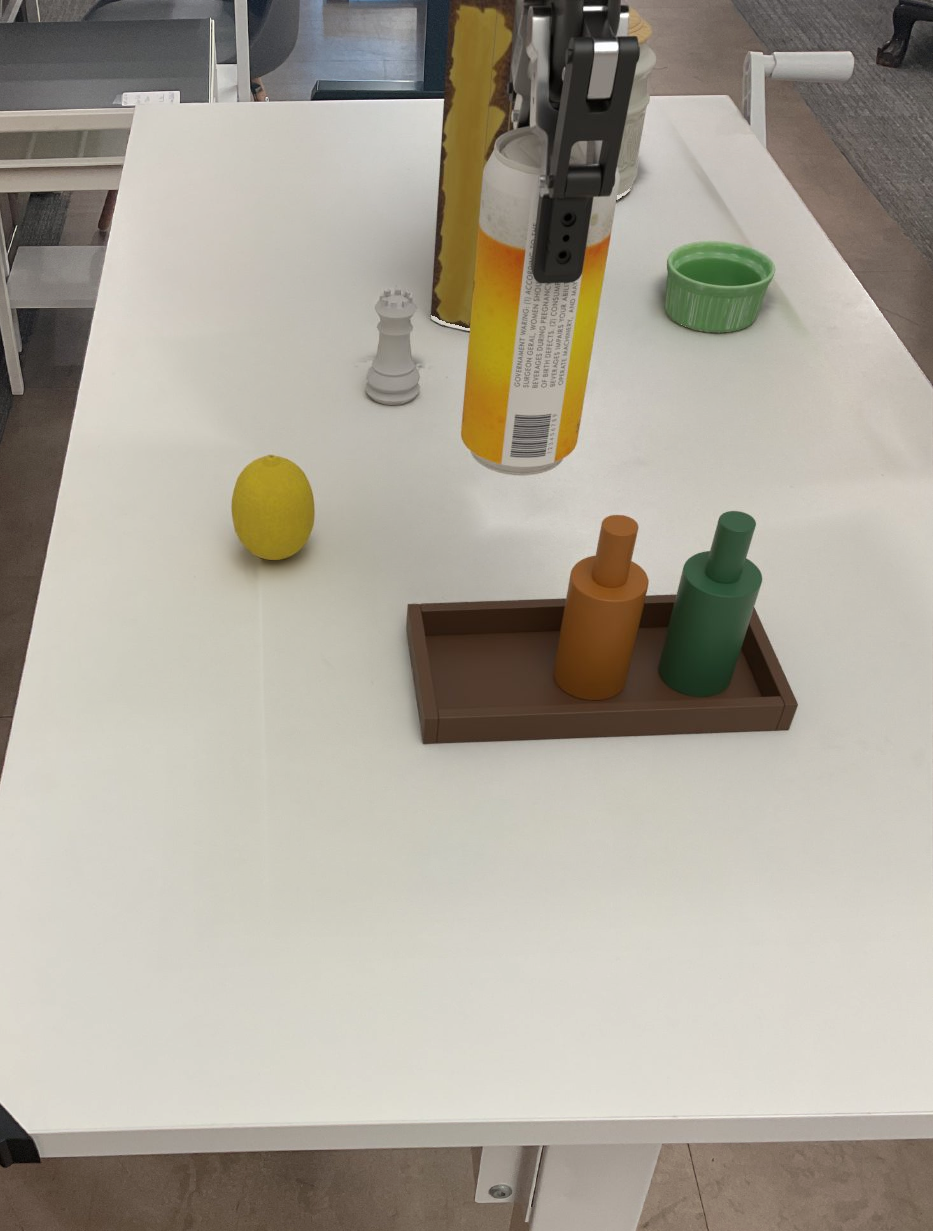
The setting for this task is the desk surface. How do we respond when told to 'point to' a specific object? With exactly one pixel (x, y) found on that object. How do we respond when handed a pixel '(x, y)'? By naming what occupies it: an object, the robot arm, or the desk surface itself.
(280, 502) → the lemon
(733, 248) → the ramekin
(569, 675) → the amber bottle
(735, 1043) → the desk surface
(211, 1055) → the desk surface
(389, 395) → the rook chess piece
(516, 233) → the beer can
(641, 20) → the jar
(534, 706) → the tray
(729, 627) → the green bottle
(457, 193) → the book
